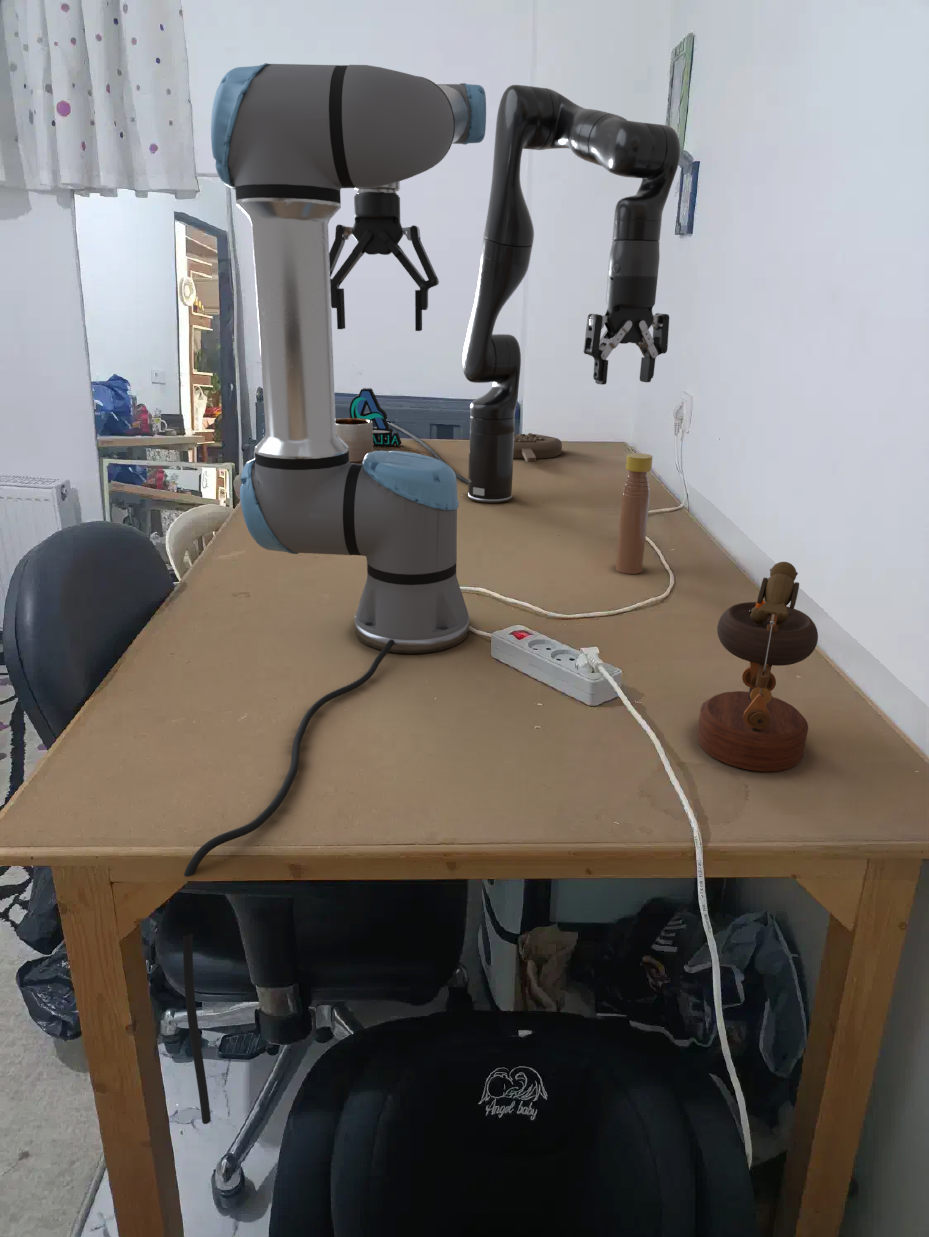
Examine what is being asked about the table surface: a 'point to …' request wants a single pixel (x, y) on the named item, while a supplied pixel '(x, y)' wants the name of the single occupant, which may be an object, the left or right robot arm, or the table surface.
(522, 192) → the right robot arm
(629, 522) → the bottle
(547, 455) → the ice cream bar
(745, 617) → the music box
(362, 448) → the planter
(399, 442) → the decorative sign
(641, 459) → the cap
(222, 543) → the table surface
